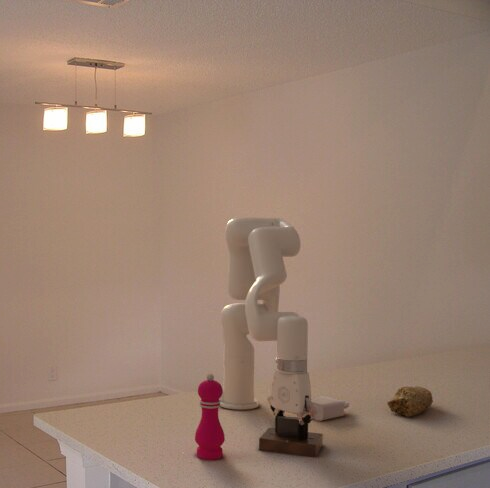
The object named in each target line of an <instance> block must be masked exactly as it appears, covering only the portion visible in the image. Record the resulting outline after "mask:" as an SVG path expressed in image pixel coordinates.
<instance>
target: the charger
mask: <svg viewBox="0 0 490 488" xmlns="http://www.w3.org/2000/svg"><path fill="white" fill-rule="evenodd" d="M311 402H312V404H313V405H314V406H315V408H316V409H317V411H318V413H317V414H316V415H315V416H314V418H313V419H312V420H317V421H325V420H330V419H331V420H332V419H335V418H340V417H344V415H345V409H348V408H349V407H350V402H346V401H345V400H341V399H337V398H334V397H331V396H327V395H319V396H315V397H314V396H313V397H311ZM308 413H309V411H308ZM302 416H303V417H304V415H303V414H302Z"/></svg>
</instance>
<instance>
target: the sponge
mask: <svg viewBox="0 0 490 488" xmlns="http://www.w3.org/2000/svg"><path fill="white" fill-rule="evenodd" d="M433 403H434V401H433V394H432V392H431V391H430V390H429V389H427V388H425V387H422V386H401V387H399V388H398V389H397V390H396V393H394V397H392V398H391V399H390V400H389V401H387V403H386V404H387V406H388V408H389V409H390V411H391V412H393V413H395V414H397V415H403V416H405V417H413V416H416V415H420V414H421V413H422V412H423V411H426V410H427V409H429V408H431V406H432V405H433Z"/></svg>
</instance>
